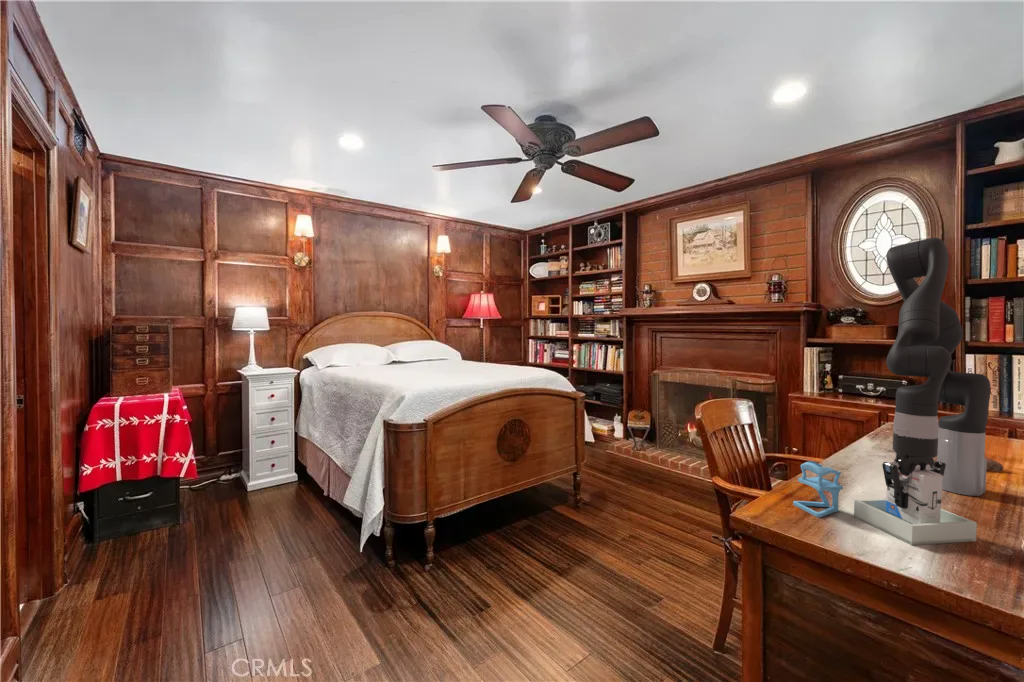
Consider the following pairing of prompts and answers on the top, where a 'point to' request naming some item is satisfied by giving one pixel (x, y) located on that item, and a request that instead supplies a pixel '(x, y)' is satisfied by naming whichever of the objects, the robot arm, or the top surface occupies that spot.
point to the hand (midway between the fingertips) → (912, 506)
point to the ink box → (919, 498)
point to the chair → (820, 488)
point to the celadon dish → (916, 525)
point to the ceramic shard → (993, 465)
